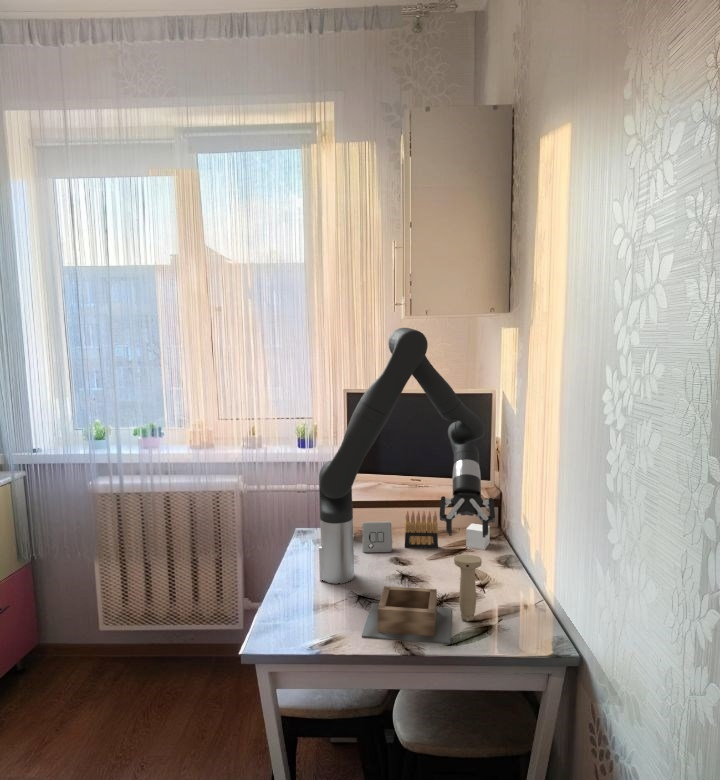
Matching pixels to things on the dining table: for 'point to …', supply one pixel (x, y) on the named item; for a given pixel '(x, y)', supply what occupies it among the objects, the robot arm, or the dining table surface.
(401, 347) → the robot arm
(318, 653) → the dining table surface
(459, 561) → the handle
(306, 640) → the dining table surface
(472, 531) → the white cube
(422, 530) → the ammunition clip
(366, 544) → the electrical switch
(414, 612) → the socket holder
